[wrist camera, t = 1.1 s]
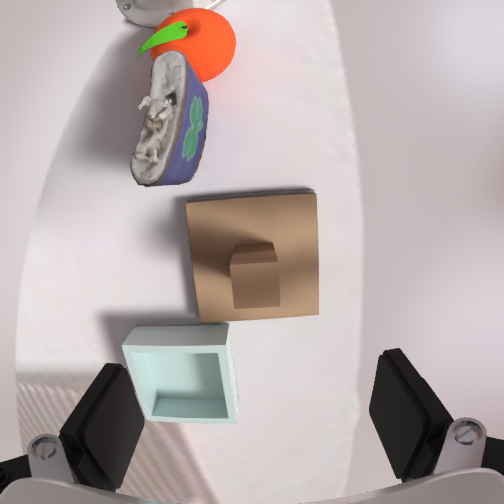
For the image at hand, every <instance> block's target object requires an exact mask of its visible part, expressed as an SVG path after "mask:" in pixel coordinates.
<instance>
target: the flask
mask: <svg viewBox="0 0 504 504" xmlns="http://www.w3.org/2000/svg"><path fill="white" fill-rule="evenodd" d="M208 103H209V102H208V94H207V91H206V89H205V87H204V86H203V84H202V83H201V82H200V80H199V79H198V77H197V75H196V73H195V72H194V70H193V69H192V67H191V65H190V63H189V62H188V60H187V58H186V56H185V55H184V54H183V53H182V52H179V51H175V50H169V51H167V52H164V53H162V54H161V55H159V56H157V57H156V59H155V61H154V63H153V66H152V69H151V87H150V94H149V96H145V97H144V98H143V99H142V101H141V103H140V104H139V105H138V109H139V110H141V109H142V107H143V106H147V110H146V115H145V118H144V124H143V128H142V131H141V135H140V138H139V141H138V143H137V145H136V149H135V150H134V152H133V154H132V159H131V164H130V168H131V172H132V175H133V178H134V179H135V181H136V182H137V184H138V185H144V186H145V187H151V186H162V185H179V184H183V183H186V182H189V181H190V180H191V179H192V178H193V177H194V174H195V172H196V171H197V169H198V166H199V162H200V160H201V157H202V152H203V148H204V146H205V145H204V143H205V140H206V129H207V120H208V118H207V116H208V106H209V104H208Z"/></svg>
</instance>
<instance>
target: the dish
mask: <svg viewBox="0 0 504 504" xmlns="http://www.w3.org/2000/svg"><path fill="white" fill-rule="evenodd" d="M121 346H122V349H123V353H124V356H125V359H126V362H127V366H128V369H129V372H130V375H131V378H132V381H133V384H134V387H135V389H136V392H137V395H138V398H139V401H140V403H141V406H142V409H143V411H144V414H145V416H146V419H147V420H152V421H164V422H180V423H214V424H225V423H237V421H238V406H239V396H238V389H237V381H236V374H235V366H234V358H233V350H232V342H231V334H230V326H229V324H217V325H187V326H135V327H134V328H133V330H132V331H131V332H130V334H129V335H128V336H127V338H126V339H125V340H124V342H123V343H122V345H121Z"/></svg>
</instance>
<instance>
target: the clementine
mask: <svg viewBox="0 0 504 504" xmlns="http://www.w3.org/2000/svg"><path fill="white" fill-rule="evenodd" d="M235 47H236V38H235V33H234V31H233V29H232V27H231V26H230V24H229V22H228V21H227V20H226V19H225V18H224V17H223V16H221V15H219V14H218V13H216V12H214V11H211V10H209V9H204V8H189V9H184V10H181V11H178V12H176V13H174V14H172V15H170V16H169V17H167V18H166V19H165V20H164V21H163V22H162V23H161V24H160V25H159V26H158V27H157V29H156V31H155V33H154V35H153V36H151V37H150V38H149V39H148V40H147V41H146V42H145V43H144V44H143V45H142V47H141V48H140V50H139V52H138V58H139V55H141V54H142V53H143V52H144V51H146V50H148V49H150V48H151V56H152V58H153V61H155V59H156V57H157V56H159V55H161V54H162V53H164V52H167V51H169V50H175V51H179V52H182V53H183V54H184V55H185V56H186V58H187V60H188V62H189V63H190V65H191V67H192V69H193V70H194V72H195V73H196V75H197V77H198V79H199V80H200V82H201V83H202V82H206V81H208V80H210V79H213V78H215V77H216V76H218V75H219V74H220V73H222V72H223V71H224V70H225V69H226V68H227V66H228V65H229V64H230V62H231V60H232V58H233V56H234V52H235Z"/></svg>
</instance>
